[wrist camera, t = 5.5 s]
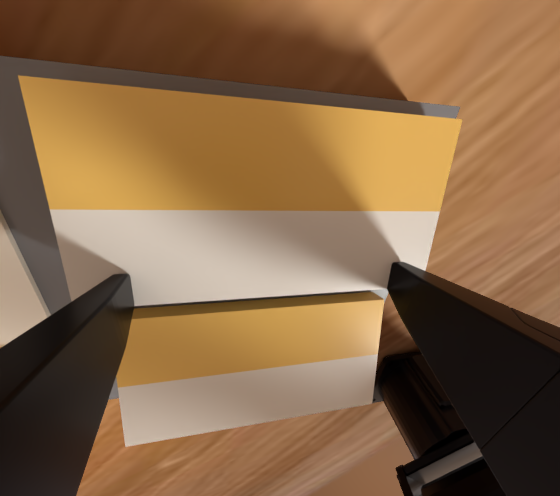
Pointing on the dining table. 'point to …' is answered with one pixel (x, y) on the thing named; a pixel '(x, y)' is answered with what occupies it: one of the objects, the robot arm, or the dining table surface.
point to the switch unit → (32, 197)
